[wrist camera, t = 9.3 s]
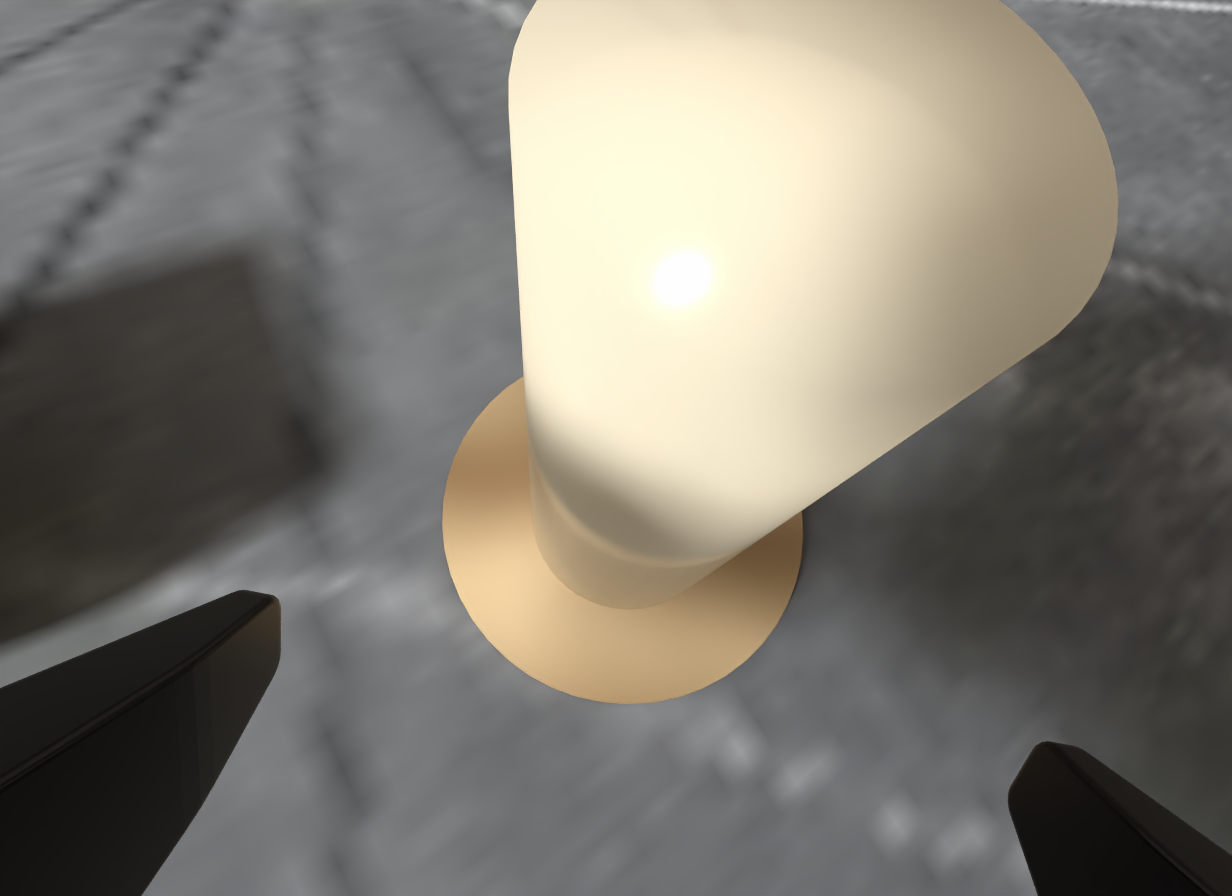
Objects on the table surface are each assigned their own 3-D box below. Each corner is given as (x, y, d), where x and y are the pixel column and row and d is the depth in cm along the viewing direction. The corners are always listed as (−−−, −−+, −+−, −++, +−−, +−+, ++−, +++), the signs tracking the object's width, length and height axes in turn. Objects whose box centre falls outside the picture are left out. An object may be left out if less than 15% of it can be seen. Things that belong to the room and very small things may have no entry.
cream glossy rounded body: (750, 567, 17) (1243, 278, 5) (572, 640, 16) (667, 491, 4) (673, 403, 19) (913, -117, 7) (505, 459, 18) (426, -50, 5)
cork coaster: (813, 704, 17) (822, 704, 16) (425, 702, 16) (421, 703, 15) (779, 369, 20) (785, 360, 20) (463, 350, 19) (460, 340, 19)
